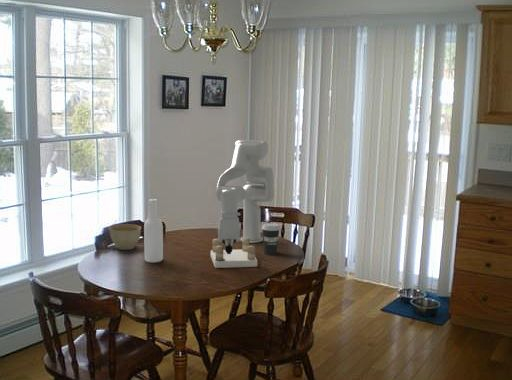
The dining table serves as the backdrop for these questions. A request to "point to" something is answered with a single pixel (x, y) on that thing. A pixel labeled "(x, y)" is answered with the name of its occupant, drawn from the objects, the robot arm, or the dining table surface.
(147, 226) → the alcohol
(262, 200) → the robot arm
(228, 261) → the footstool seat
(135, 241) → the planter bowl
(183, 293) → the dining table surface
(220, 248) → the swing leg
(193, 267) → the dining table surface
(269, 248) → the coffee cup
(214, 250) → the fixed legs
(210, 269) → the dining table surface
